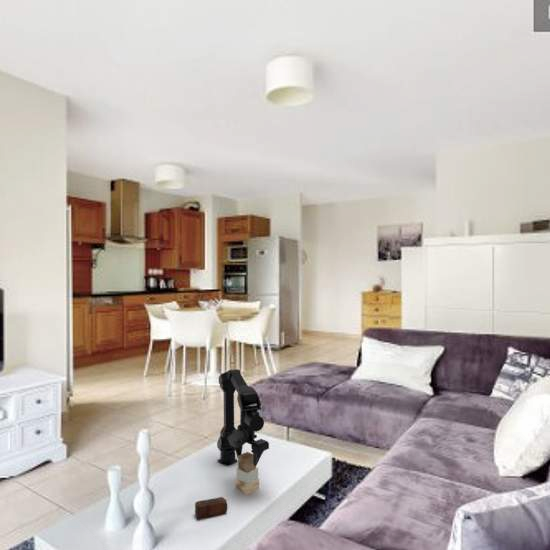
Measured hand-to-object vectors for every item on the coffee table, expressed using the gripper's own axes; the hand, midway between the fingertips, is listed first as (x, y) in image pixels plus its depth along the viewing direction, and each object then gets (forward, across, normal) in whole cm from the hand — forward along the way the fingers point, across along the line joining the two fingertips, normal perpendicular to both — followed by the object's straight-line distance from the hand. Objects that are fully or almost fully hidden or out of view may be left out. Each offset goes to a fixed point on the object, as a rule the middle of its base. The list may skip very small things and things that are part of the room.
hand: (247, 462), depth 162 cm
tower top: (+6, 0, 0) cm, 6 cm away
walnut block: (+2, 0, 0) cm, 2 cm away
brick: (+11, +4, -21) cm, 24 cm away
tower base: (+10, 0, 0) cm, 11 cm away
